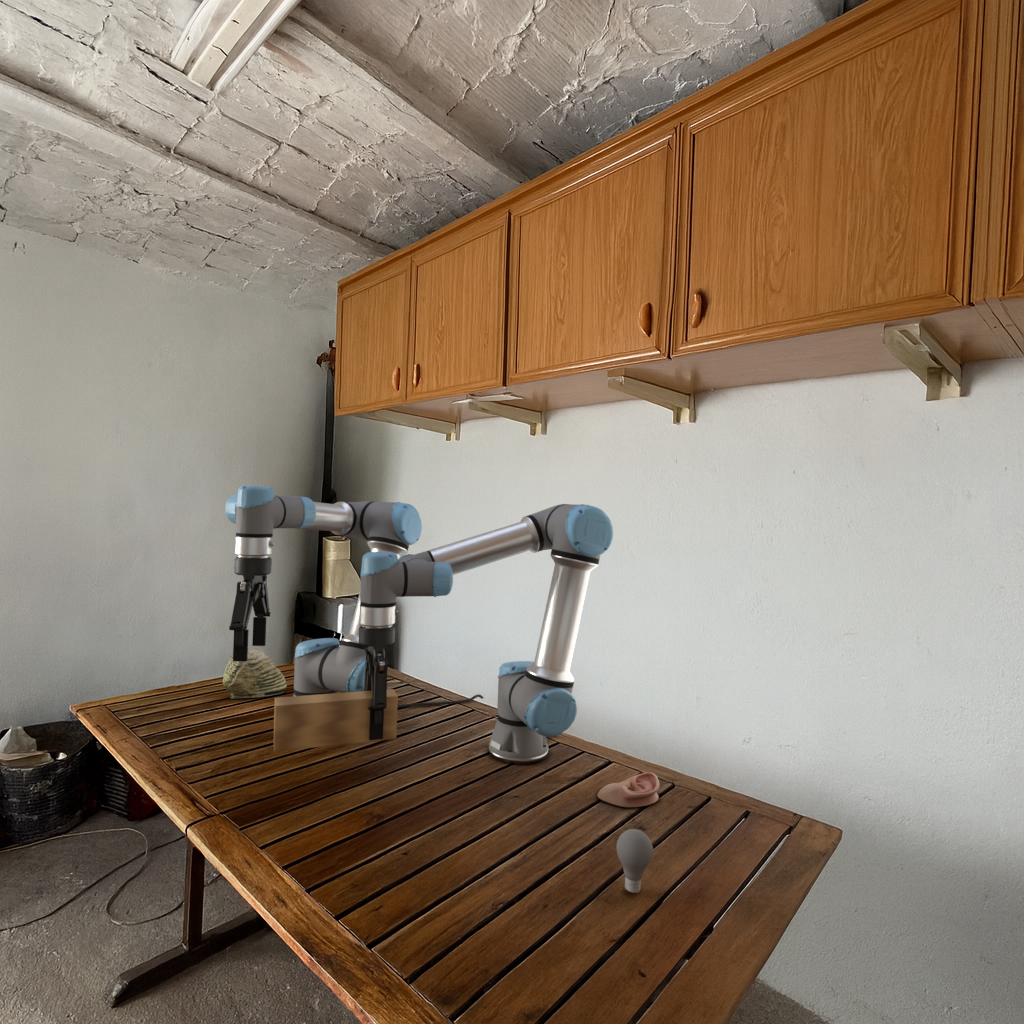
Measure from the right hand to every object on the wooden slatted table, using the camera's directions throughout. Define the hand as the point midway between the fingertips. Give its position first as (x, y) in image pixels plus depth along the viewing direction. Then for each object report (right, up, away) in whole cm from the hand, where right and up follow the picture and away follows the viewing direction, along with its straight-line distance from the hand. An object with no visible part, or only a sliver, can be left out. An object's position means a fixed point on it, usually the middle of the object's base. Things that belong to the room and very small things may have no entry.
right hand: (373, 733), depth 135 cm
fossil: (-51, -10, +63) cm, 82 cm away
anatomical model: (+55, -16, +5) cm, 58 cm away
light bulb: (+50, -16, -29) cm, 60 cm away
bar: (-7, 0, -3) cm, 8 cm away
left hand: (-28, +16, +4) cm, 33 cm away
